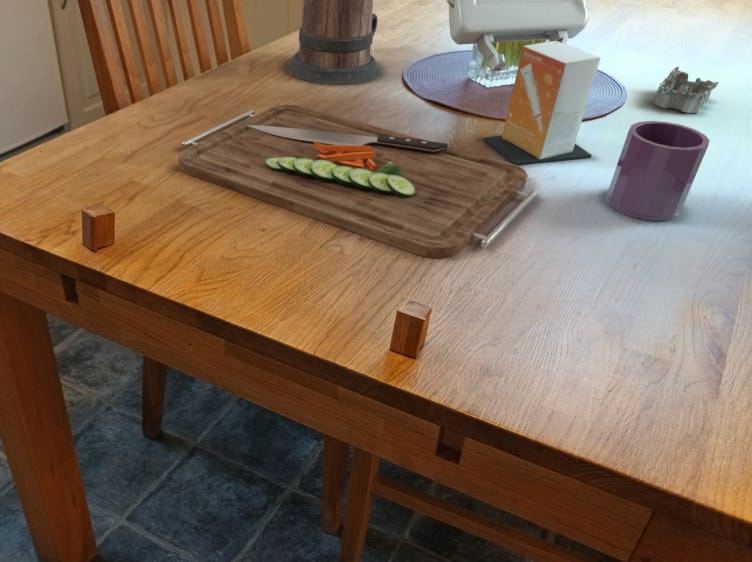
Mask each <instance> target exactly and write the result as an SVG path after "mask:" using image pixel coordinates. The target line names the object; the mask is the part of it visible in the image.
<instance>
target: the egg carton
mask: <svg viewBox="0 0 752 562" xmlns="http://www.w3.org/2000/svg"><path fill="white" fill-rule="evenodd" d="M679 69H680V66H676V67H674V68H673V69H672V70H671V71H670V72H669V74H668V76H667V77H665V78H664V80H663V81H662V82H661V83H660V84H659V86H658V88H657V90H656V93H657V96H656V99H655V101H654V103H653V104H654V105H655V106H657V107H659V108H663V109H675V110H677V111H681V112H684V113H687V114H699V112H700V110H701V108H703V107H704V105H705V103H707V102H708V101H709V99H710V96H711V95H712V91H713V90H714V89H716V88H717V86H718V85H719V81H712V80H709V79H707V80H706V81H704V80H702V79H701V77H696V78H695V81H691V80H689V73H688V72H685V71H681V70H679Z"/></svg>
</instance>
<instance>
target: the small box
mask: <svg viewBox="0 0 752 562" xmlns="http://www.w3.org/2000/svg"><path fill="white" fill-rule="evenodd" d="M600 62H601V56H599V55H595V54H593V53H590V52H588V51H585V50H583V49H580V48H578V47H575V46H571V45H569V44H567V43H566V44H563V43H561V42H558V41H551V42H550V41H545V42H539V43H534V44H525V45H523V46H522V50H521V55H520V58H519V63H518V67H517V71H516V76H515V80H514V82H513V83H514V84H513V88H512V91H511V97H510V99H509V100H510V102H509V105H508V108H507V112H506V117H505V123H504V126H503V130H502V135H501V136H502V139H504V140H506V141H508V142H510V143H512V144H514V145H516V146H517V147H519V148H521V149H523V150H525V151H526V152H528V153H530V154H532V155H533V156H535V157H536V158H538V159H544V158H549V157H553V156H557V155H562V154H566V153H570V152H572V151H573V148H574V145H575V144H576V141H577V138H578V135H579V132H580V128H581V125H582V121H583V119H584V114H585V112H586V108H587V106H588V105H587V104H588V101H589V98H590V94H591V91H592V88H593V84H594V81H595V77H596V74H597V71H598V68H599V65H600Z"/></svg>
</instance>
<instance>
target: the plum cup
mask: <svg viewBox="0 0 752 562" xmlns="http://www.w3.org/2000/svg"><path fill="white" fill-rule="evenodd" d="M709 144H710V139H709V138H708V136H706V134H704V133H703V132H701V131H699V130H697V129H695V128H692V127H688V126H687V125H684V124H679V123H674V122H669V121H660V120H645V121H638V122H635V123H633V124H631V125H630V127H629V129H628V131H627V135H626V137H625V141H624V143H623V146H622V149H621V151H620V154H619V158H618V161H617V163H616V165H615V170H614V172H613V175H612V179H611V182H610V184H609V187H608V191H607V193H606V197H605V199H606V203H607V204H608V206H610V207H611V208H612V210H615V211H617V212H619V213H621V214H622V215H625V216H628V217H630V218H634V219H638V220H643V221H649V222H665V221H671V220H673V219H675V218H677V217H678V216H680V213H681V211H682V209H683V207H684V205H685V202H686V200H687V197H688V195H689V192H690V190H691V188H692V186H693V183H694V181H695V179H696V176H697V174H698V172H699V169H700V166H701V165H702V162H703V159H704V157H705V155H706V152H707V150H708V147H709Z"/></svg>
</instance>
